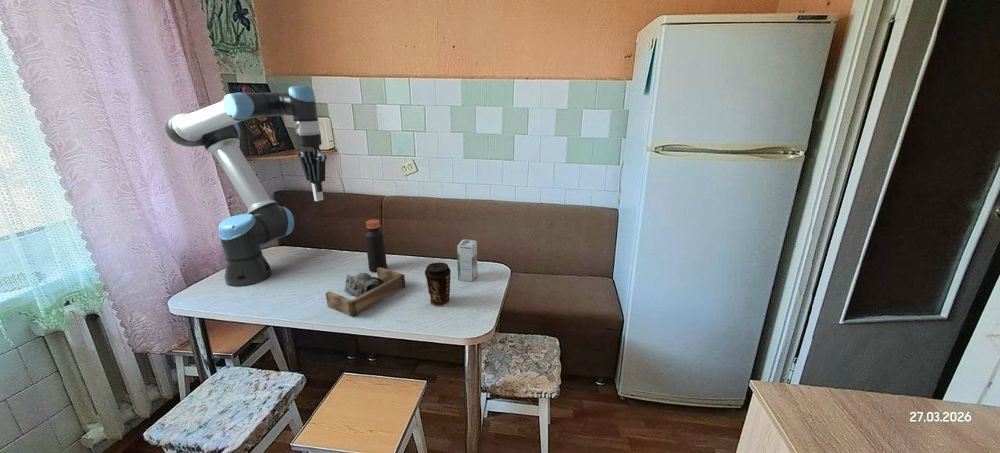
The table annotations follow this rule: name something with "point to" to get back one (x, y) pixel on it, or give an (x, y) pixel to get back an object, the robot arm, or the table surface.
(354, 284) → the caster wheel
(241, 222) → the robot arm
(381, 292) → the bay
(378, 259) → the bottle
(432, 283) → the coffee cup
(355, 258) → the table surface
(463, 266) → the syrup box
